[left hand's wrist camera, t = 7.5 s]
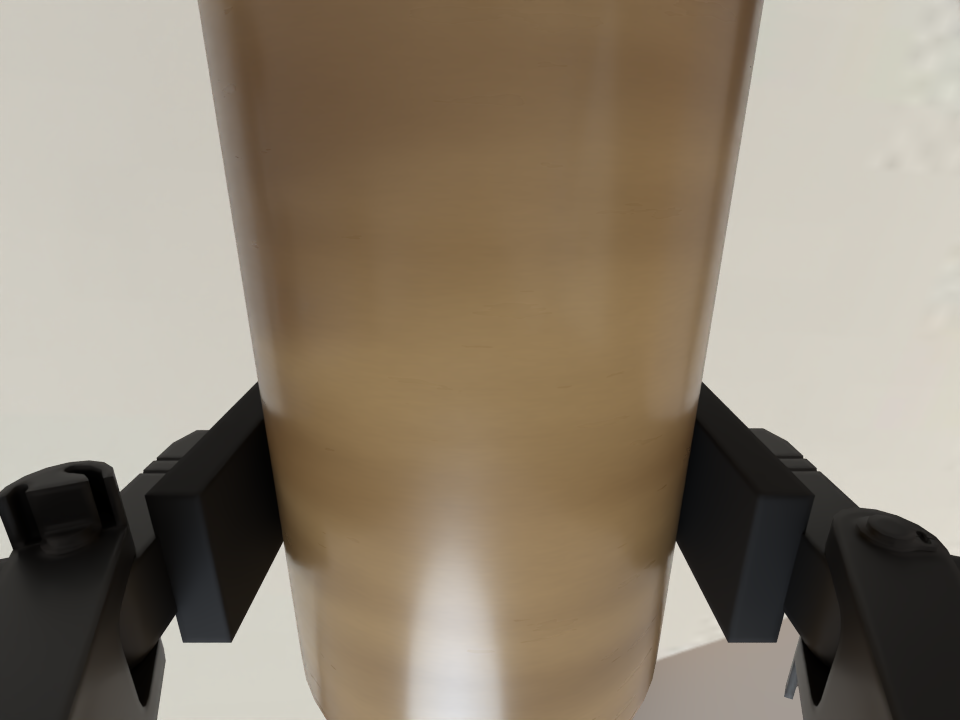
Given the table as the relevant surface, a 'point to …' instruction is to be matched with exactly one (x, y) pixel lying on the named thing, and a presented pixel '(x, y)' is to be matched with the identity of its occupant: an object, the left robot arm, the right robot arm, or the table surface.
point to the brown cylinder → (480, 328)
